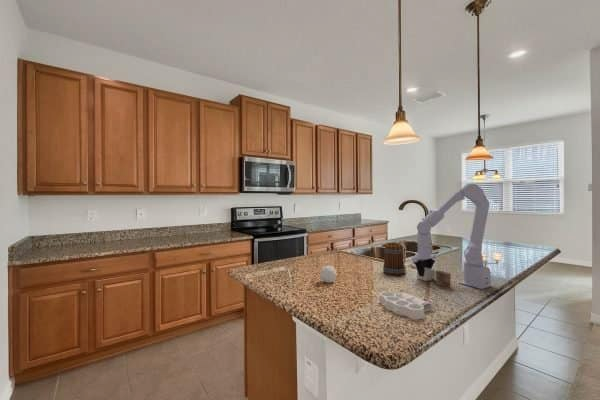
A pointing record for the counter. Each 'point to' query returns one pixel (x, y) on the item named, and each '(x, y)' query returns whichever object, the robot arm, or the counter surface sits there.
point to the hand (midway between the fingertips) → (424, 275)
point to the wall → (443, 279)
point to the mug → (393, 259)
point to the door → (434, 274)
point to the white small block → (425, 274)
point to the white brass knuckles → (404, 304)
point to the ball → (328, 274)
